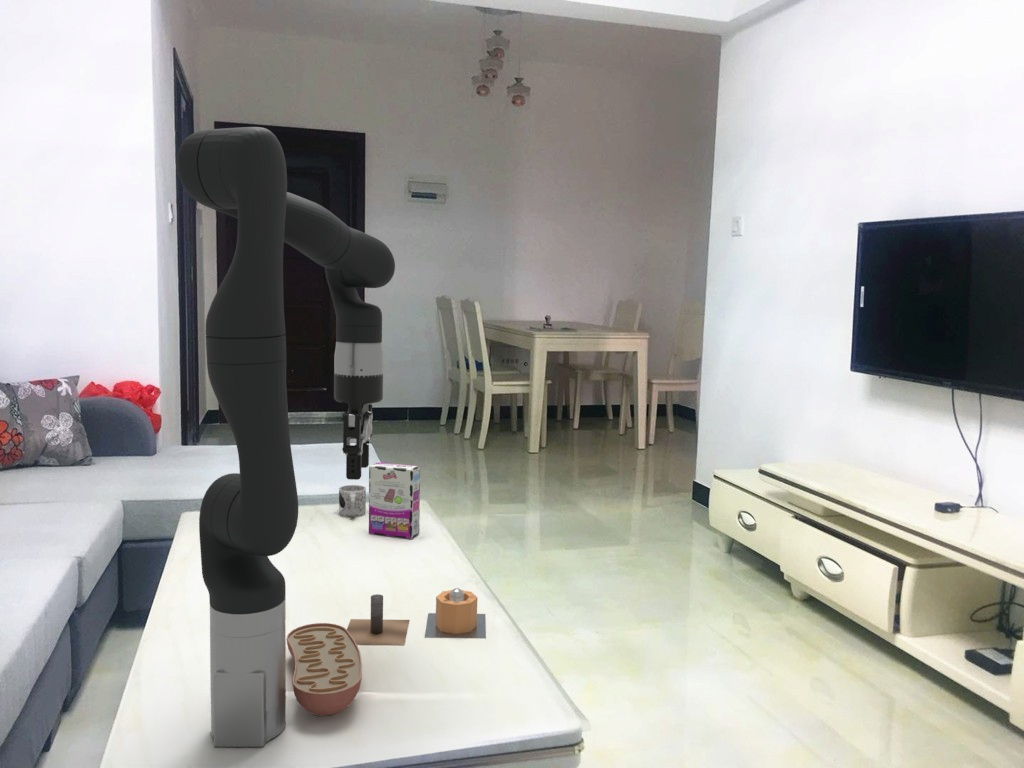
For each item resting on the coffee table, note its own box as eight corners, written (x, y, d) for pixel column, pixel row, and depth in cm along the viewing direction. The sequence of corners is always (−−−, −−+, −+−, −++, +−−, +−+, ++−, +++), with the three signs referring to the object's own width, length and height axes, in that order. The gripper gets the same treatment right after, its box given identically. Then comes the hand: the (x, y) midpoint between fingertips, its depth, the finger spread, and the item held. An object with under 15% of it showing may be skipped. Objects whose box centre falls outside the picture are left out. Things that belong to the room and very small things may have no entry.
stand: (404, 651, 129) (404, 608, 128) (340, 650, 128) (341, 608, 128) (409, 625, 139) (410, 586, 138) (350, 624, 138) (351, 585, 138)
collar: (480, 630, 135) (481, 601, 135) (444, 635, 133) (445, 606, 132) (466, 615, 141) (467, 588, 141) (431, 620, 138) (432, 592, 138)
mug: (338, 510, 209) (339, 485, 208) (365, 509, 210) (365, 484, 209) (338, 521, 199) (339, 495, 198) (366, 520, 200) (366, 494, 199)
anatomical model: (285, 656, 126) (285, 626, 126) (349, 649, 129) (349, 619, 129) (294, 733, 105) (294, 697, 104) (371, 723, 108) (371, 687, 107)
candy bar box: (420, 533, 191) (421, 465, 189) (411, 539, 186) (412, 469, 184) (377, 528, 194) (377, 461, 192) (367, 534, 189) (368, 465, 187)
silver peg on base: (485, 644, 132) (487, 600, 132) (424, 643, 132) (425, 599, 131) (485, 619, 142) (486, 578, 141) (428, 618, 142) (428, 577, 141)
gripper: (377, 376, 120) (376, 484, 121) (388, 367, 134) (386, 463, 135) (326, 375, 119) (325, 483, 121) (342, 366, 133) (341, 462, 135)
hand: (357, 472), depth 128 cm, fingers open, 8 cm apart
